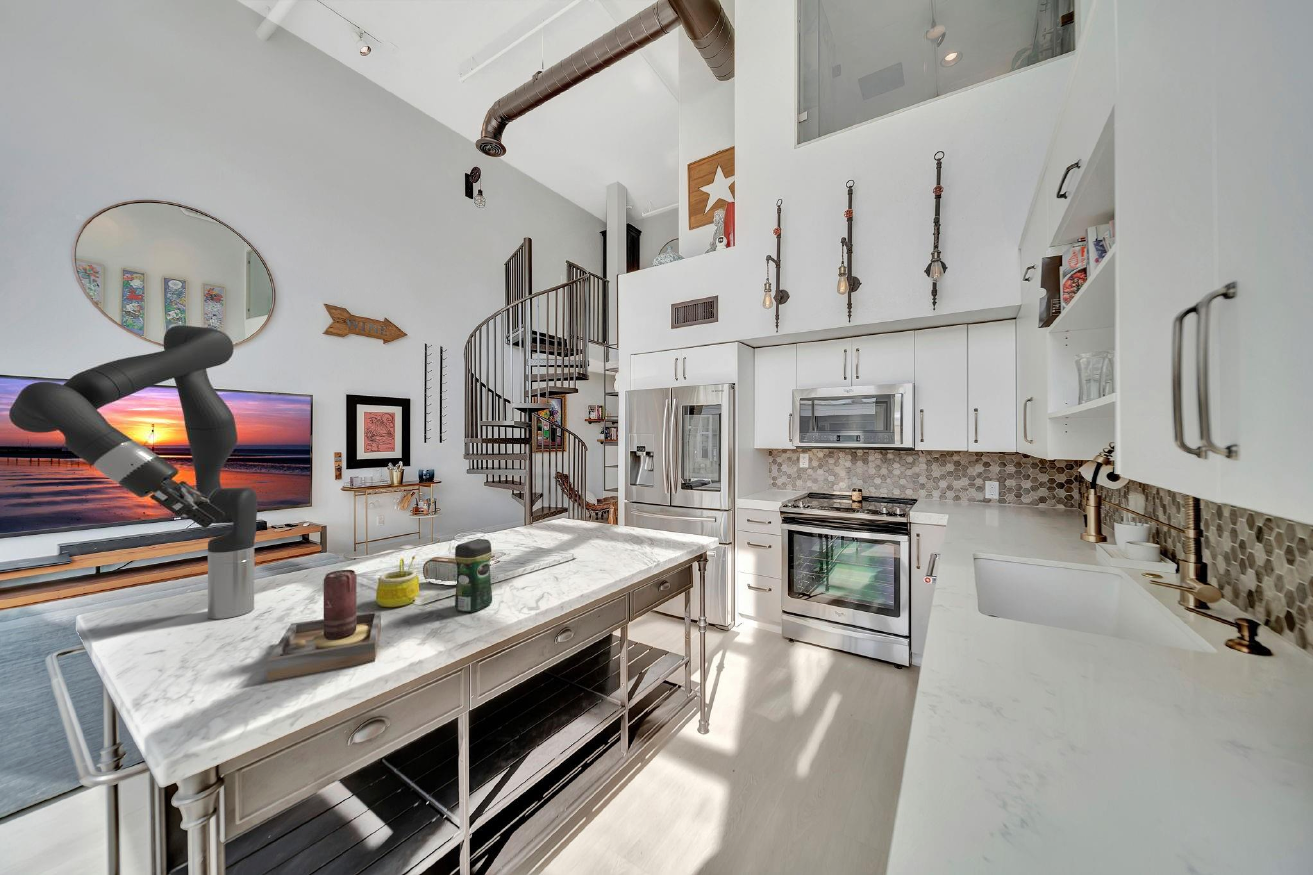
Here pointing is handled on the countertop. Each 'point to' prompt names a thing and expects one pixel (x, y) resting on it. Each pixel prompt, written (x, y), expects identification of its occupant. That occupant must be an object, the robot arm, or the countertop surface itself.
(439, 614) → the countertop surface
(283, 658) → the carrier tray
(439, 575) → the tin
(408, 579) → the yellow pot
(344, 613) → the can
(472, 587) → the coffee jar
